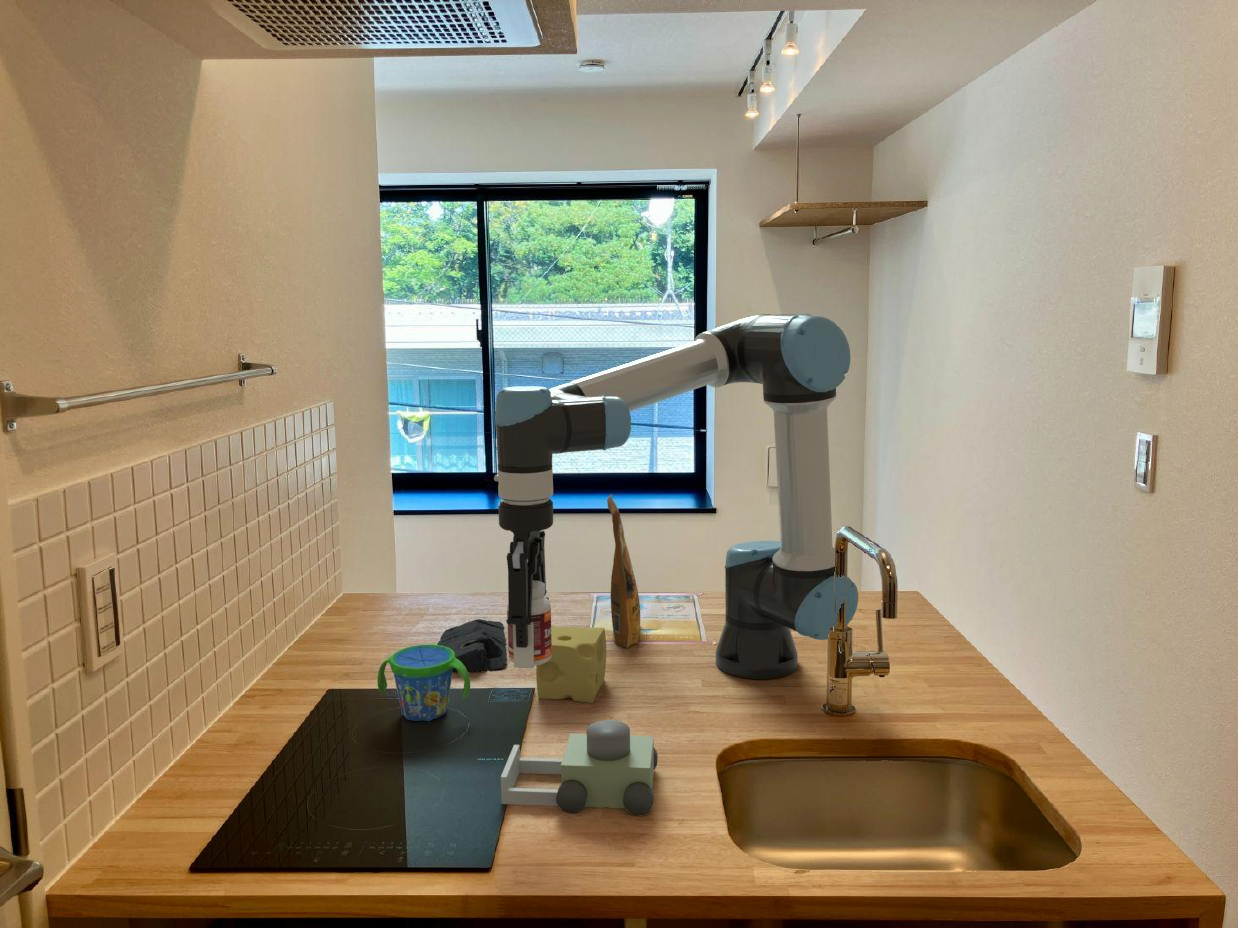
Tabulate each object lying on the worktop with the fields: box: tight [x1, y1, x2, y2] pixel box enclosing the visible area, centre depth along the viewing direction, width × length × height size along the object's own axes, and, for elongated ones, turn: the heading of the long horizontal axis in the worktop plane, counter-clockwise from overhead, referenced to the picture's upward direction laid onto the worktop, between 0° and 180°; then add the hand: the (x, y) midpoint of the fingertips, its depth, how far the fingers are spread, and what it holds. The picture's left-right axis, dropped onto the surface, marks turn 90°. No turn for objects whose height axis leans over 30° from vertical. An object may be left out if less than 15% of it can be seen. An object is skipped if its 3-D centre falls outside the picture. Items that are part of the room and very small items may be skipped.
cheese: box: [535, 625, 607, 704], centre depth 160 cm, size 10×11×10 cm
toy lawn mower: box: [500, 719, 659, 817], centre depth 128 cm, size 21×12×9 cm, turn 85°
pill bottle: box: [506, 580, 552, 667], centre depth 130 cm, size 6×6×11 cm
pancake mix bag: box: [606, 493, 641, 649], centre depth 185 cm, size 7×19×28 cm, turn 178°
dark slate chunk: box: [436, 618, 508, 674], centre depth 179 cm, size 15×22×5 cm
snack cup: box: [376, 644, 471, 722], centre depth 152 cm, size 16×10×10 cm
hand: (529, 657), depth 131 cm, fingers closed on pill bottle, 6 cm apart
